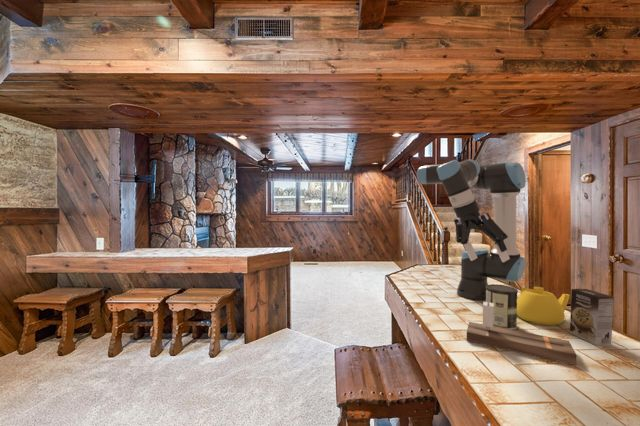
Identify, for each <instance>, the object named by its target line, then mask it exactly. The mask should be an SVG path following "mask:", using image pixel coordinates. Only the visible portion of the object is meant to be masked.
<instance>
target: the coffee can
mask: <svg viewBox="0 0 640 426" xmlns="http://www.w3.org/2000/svg"><path fill="white" fill-rule="evenodd" d="M518 292H519V291H518V289H517V288H516V287H512V286H510V285H503V284H488V285H486V300H485V302H489V303H494V311H493V326H494V327H499V328H505V329H510V330H516V329H517V328H518V327H517V325H518V324H517V322H518V320H517V318H518V315H517V297H518Z"/></svg>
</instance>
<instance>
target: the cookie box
mask: <svg viewBox="0 0 640 426" xmlns="http://www.w3.org/2000/svg"><path fill="white" fill-rule="evenodd" d="M614 300H615V296H611V295H609V294H605V293H601V292H598V291H595V290H592V289H588V288H572V289H571V291H570V317H569V318H570V319H569V321H570V322H569V334H570V335H572V336H574V337H576V338H579V339H580V340H583V341H585V342H587V343H590V344H592V345H594V346H611V345H612V340H613V339H612V338H613V324H614V321H613V320H614V307H615V306H614V305H615V304H614V303H615V301H614Z"/></svg>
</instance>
